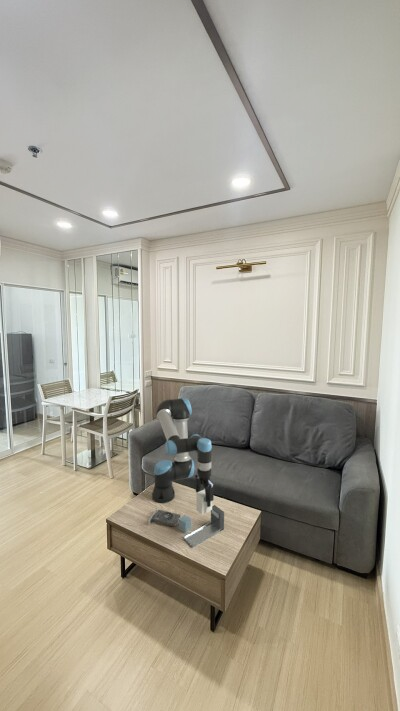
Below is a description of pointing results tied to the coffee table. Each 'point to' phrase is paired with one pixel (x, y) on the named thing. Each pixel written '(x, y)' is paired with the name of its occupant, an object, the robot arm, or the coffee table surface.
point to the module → (201, 502)
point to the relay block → (184, 523)
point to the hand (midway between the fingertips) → (204, 508)
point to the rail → (207, 528)
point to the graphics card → (164, 517)
